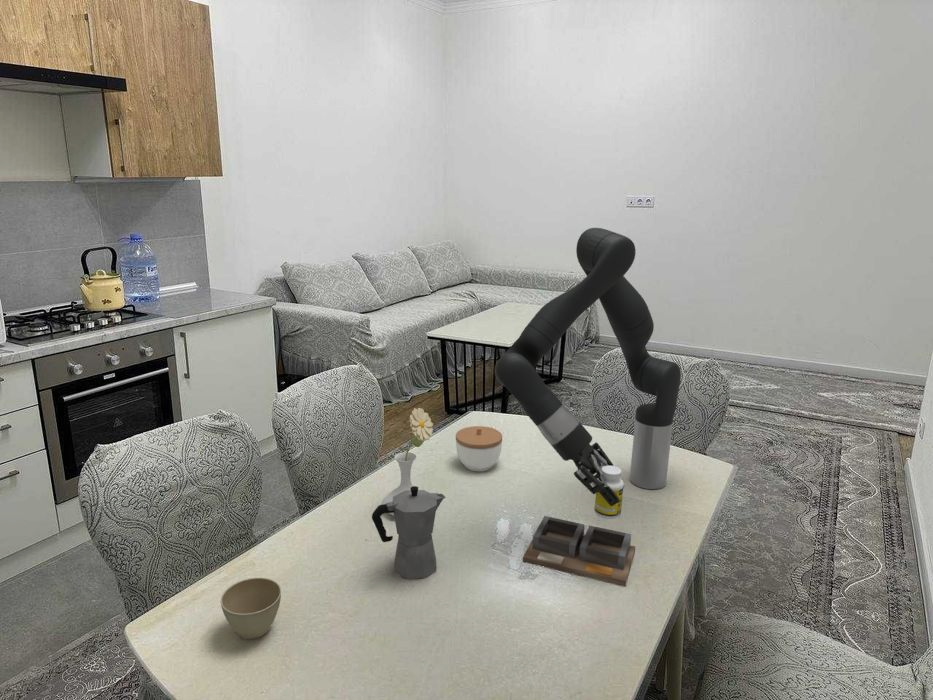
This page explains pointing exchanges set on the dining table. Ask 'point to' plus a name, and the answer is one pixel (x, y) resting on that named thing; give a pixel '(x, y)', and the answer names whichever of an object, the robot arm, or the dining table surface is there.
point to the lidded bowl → (478, 447)
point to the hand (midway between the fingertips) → (618, 496)
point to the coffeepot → (412, 531)
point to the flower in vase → (405, 459)
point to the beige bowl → (251, 606)
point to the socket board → (581, 550)
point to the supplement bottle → (617, 485)
